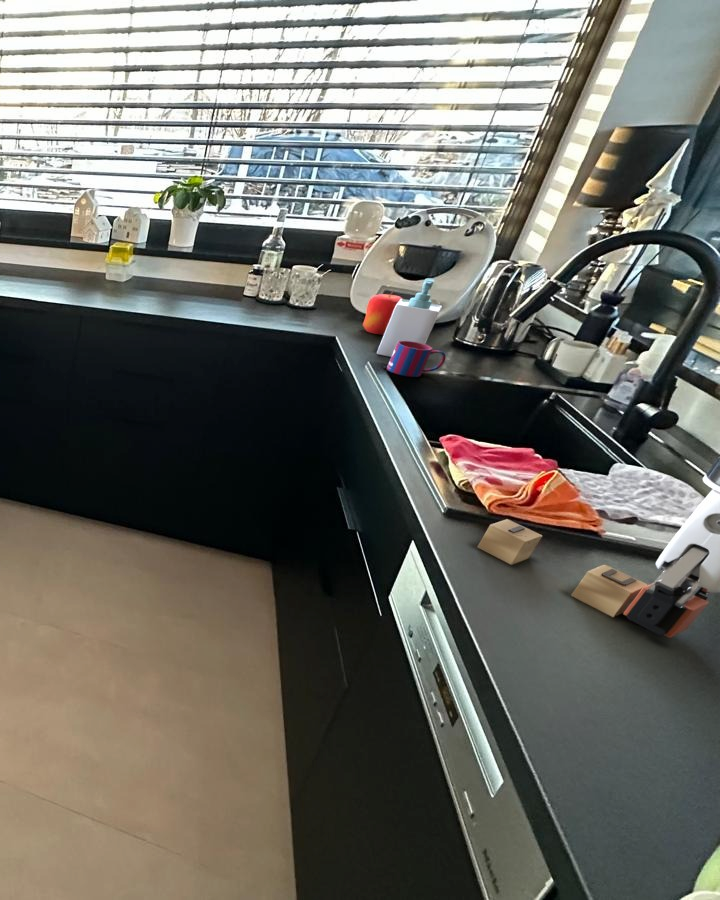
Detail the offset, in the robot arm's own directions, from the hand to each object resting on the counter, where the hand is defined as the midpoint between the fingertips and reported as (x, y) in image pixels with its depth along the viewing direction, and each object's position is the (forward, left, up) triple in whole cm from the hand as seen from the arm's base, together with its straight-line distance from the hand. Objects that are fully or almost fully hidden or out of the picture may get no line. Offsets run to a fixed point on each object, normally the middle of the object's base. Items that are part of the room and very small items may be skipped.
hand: (655, 619), depth 70 cm
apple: (-22, -126, -2) cm, 128 cm away
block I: (+8, -12, -2) cm, 15 cm away
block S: (0, 0, 0) cm, 0 cm away
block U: (+2, -4, -2) cm, 5 cm away
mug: (-15, -89, -2) cm, 91 cm away
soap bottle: (-19, -105, -2) cm, 107 cm away
